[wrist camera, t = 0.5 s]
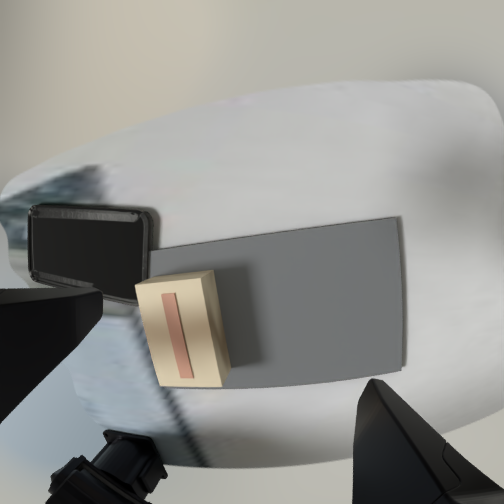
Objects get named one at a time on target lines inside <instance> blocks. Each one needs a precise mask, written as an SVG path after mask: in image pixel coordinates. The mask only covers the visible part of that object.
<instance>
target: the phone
mask: <svg viewBox="0 0 504 504" xmlns="http://www.w3.org/2000/svg"><path fill="white" fill-rule="evenodd" d="M152 238H153V220H152V217H151V216H150V214H149V213H148V212H146V211H144V210H136V209H119V208H100V207H80V206H55V205H33V206H32V207H31V208H30V209H29V212H28V269H29V274H30V277H31V278H32V280H33V281H35V282H38V283H41V284H45V285H49V286H52V287H56V288H78V287H94V288H96V289H98V290H100V291H102V293H103V299H104V300H109V301H113V302H118V303H122V304H127V305H131V306H139V303H138V298H137V294H136V289H135V285H136V284H138V283H140V282H143V281H145V280H147V279H148V257H149V251H152Z"/></svg>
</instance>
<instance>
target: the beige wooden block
mask: <svg viewBox="0 0 504 504" xmlns="http://www.w3.org/2000/svg"><path fill="white" fill-rule="evenodd" d="M135 289H136V294H137V298H138V303H139V307H140V312H141V316H142V321H143V325H144V329H145V333H146V337H147V341H148V345H149V349H150V352H151V356H152V360H153V363H154V367H155V370H156V374H157V377H158V381H159V384H160V386H174V387H222V386H223V384H224V382H225V380H226V378H227V376H228V374H229V372H230V370H231V364H230V359H229V353H228V348H227V343H226V338H225V332H224V327H223V321H222V316H221V310H220V305H219V299H218V293H217V288H216V282H215V276H214V270H207V271H199V272H190V273H182V274H173V275H164V276H155V277H152V278H150V279H147V280H145V281H143V282H140V283H138V284H136V285H135Z"/></svg>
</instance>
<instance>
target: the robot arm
mask: <svg viewBox="0 0 504 504" xmlns="http://www.w3.org/2000/svg"><path fill="white" fill-rule="evenodd" d="M102 314H103V293H102V291H100V290H98V289H96V288H94V287H78V288H24V289H23V288H20V289H19V288H18V289H0V424H1V423H2V421H3V420H4V419H5V418H6V417H7V416H8V415H9V414H10V413H11V412H12V411H13V410H14V409H15V408H16V407H17V405H19V403H20V402H22V400H23V399H24V398H25V397H26V396H27V395H28V394H29V393H30V392H31V391H32V390H33V389H34V388H35V387H36V386H37V385H38V384H39V383H40V382H41V381H42V380H43V379H44V378H45V377H46V376H47V375H48V374H49V373H50V372H51V371H52V370H53V369H54V368H56V366H58V365H59V364H60V363H61V362H62V361H63V360H64V359H65V358H66V357H67V356H68V355H69V354H70V353H71V352H72V351H73V350H74V349H75V348H76V347H77V346H78V345H79V344H80V343H81V341H82V340H83V339H84V338H85V337H86V336H87V334H88V333H89V332H90V331H91V330H92V328H93V327H94V326H95V325H96V324H97V323H98V322H99V320H100V319H101V317H102ZM103 435H104V437H105V439H106V441H107V444H106V445H105V446H104V448H103V449H102V450H101V451H100V452H99V453H98V454H97V455H96V457H95V458H94V459H93V460H92V461H91V462H89V461H88V460H87V459H86V458H85V457H84V456H83V455H81V456H80V457H79V458H75V457H73V458H72V459H71V460H70V461H69V462H68V463H67V464H66V465H65V466H64V467H62V468H61V469H59V470H57V471H56V472H54V473H53V474H52V475H51V481H52V483H51V485H50V488H49V490H48V491H49V493H51V494H52V495H51V496H50V498H49V499H48V500H47V501H46V503H45V504H152V503H150V502H147V501H145V500H144V499H145V498H146V496H147V494H148V493H150V494H151V493H152V492H153V491H154V489H155V487H156V485H157V484H158V482H159V480H160V479H166V478H167V477H168V474H167V472H166V470H165V468H164V466H163V463H162V461H161V459H160V457H159V455H158V452H157V450H156V448H155V445H154V443H153V441H152V439H150V438H148V437H143V436H136V435H130V434H125V433H119V432H114V431H109V430H105V431H104V432H103ZM352 504H504V489H503V488H502V487H500V486H499V485H497V484H496V483H495V482H494V481H492V480H491V479H490V478H489V477H487V476H486V475H485V474H483V473H482V472H481V471H480V470H479V469H477V468H476V467H475V466H474V465H472V464H471V463H470V462H469V461H468V460H466V459H465V458H464V457H463V456H462V455H461V454H459V452H457V451H456V450H455V449H454V448H453V447H452V446H451V445H450V444H449V443H448V442H447V443H446V440H445V439H444V438H443V437H442V436H441V435H440V434H439V433H437V432H436V431H435V430H434V429H433V428H432V427H431V426H430V425H429V424H428V423H427V422H426V421H425V420H424V419H423V418H422V417H421V416H420V415H419V414H418V413H417V412H416V411H414V410H413V409H412V408H411V407H410V406H409V405H408V404H407V403H406V402H405V401H404V400H403V399H402V398H401V397H400V396H399V395H398V394H397V393H396V392H395V391H394V390H393V389H392V388H391V387H389V386H388V385H387V384H386V383H385V382H384V381H383V380H379V379H374V378H372V379H370V380H369V381H368V383H367V385H366V387H365V389H364V391H363V393H362V395H361V397H360V399H359V401H358V405H357V415H356V425H355V434H354V443H353V499H352Z"/></svg>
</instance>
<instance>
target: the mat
mask: <svg viewBox="0 0 504 504" xmlns="http://www.w3.org/2000/svg"><path fill="white" fill-rule="evenodd" d="M207 270H214V276H215V282H216V288H217V293H218V299H219V305H220V310H221V316H222V321H223V327H224V332H225V338H226V343H227V348H228V353H229V359H230V364H231V370H230V372H229V374H228V376H227V378H226V380H225V382H224V384H223V386H222V387H174V386H164V387H165V388H177V389H248V388H269V387H284V386H297V385H308V384H318V383H326V382H335V381H342V380H350V379H357V378H363V377H369V376H375V375H381V374H387V373H392V372H397V371H401V368H402V334H403V316H402V282H401V265H400V251H399V240H398V230H397V221H396V218H387V219H379V220H371V221H363V222H355V223H347V224H339V225H331V226H324V227H316V228H308V229H301V230H293V231H286V232H279V233H271V234H264V235H257V236H250V237H242V238H235V239H228V240H221V241H214V242H207V243H200V244H194V245H187V246H180V247H173V248H167V249H160V250H153V251H149V257H148V279H150V278H152V277H155V276H164V275H173V274H182V273H190V272H199V271H207Z"/></svg>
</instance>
